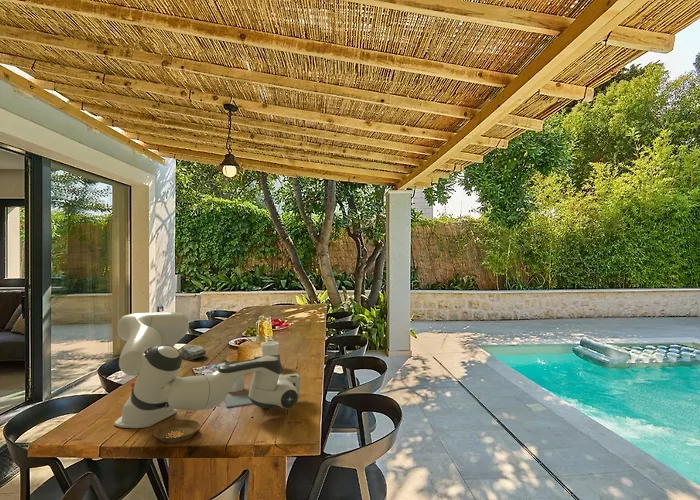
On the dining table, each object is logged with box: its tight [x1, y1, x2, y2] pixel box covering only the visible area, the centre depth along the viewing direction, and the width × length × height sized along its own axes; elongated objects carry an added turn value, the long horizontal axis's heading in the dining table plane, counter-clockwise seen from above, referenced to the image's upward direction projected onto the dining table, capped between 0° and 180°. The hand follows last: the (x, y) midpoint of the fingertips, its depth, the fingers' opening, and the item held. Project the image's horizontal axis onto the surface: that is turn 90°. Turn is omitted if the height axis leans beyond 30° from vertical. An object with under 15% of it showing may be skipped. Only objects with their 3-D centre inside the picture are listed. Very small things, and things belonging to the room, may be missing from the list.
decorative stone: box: [180, 343, 207, 361], centre depth 243 cm, size 15×14×10 cm
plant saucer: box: [153, 419, 201, 443], centre depth 142 cm, size 15×15×3 cm
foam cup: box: [260, 341, 280, 356], centre depth 225 cm, size 10×9×13 cm
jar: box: [224, 360, 245, 393], centre depth 189 cm, size 9×8×12 cm
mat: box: [224, 393, 254, 409], centre depth 174 cm, size 11×11×1 cm
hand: (272, 376), depth 181 cm, fingers open, 5 cm apart
